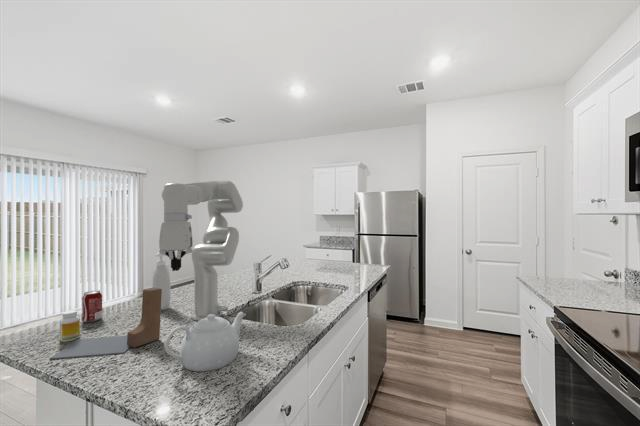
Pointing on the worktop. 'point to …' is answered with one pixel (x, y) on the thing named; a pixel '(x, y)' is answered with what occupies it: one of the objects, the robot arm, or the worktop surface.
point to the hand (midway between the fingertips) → (176, 270)
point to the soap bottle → (162, 281)
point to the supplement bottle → (69, 326)
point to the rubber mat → (94, 347)
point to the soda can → (91, 306)
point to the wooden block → (147, 319)
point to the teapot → (208, 343)
